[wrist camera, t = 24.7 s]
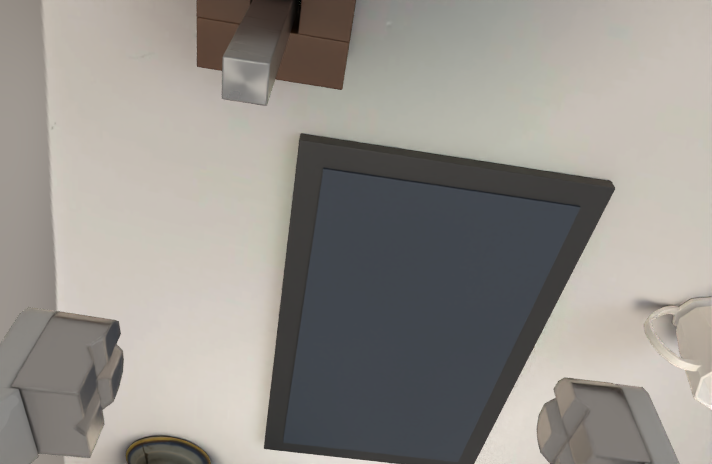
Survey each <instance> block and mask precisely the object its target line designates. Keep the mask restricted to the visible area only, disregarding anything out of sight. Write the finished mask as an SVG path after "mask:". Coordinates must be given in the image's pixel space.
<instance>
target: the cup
mask: <svg viewBox="0 0 712 464" xmlns="http://www.w3.org/2000/svg"><path fill="white" fill-rule="evenodd" d="M665 314H673V315H674V316H673V320H672V323H673V325H674V326H676V327H677V330H676V335H677V341H678V347H679V352H680V355H681V358H680V357H678V356H677V355H676V354H674V353H673V352H672V351H671V350H669V349H668V348H667V347H666V346H665V345H664V344H663V342H662V341H661V340H660V338H659V337H658V336H657V334H656V332H655V331H654V329H653V326H652V320H654V319H655V318H657V317H659V316H661V315H665ZM644 331H645V334H646V336H647V338H648V339H649V341H650V343H651V344H652V345H653V347H654V348H655V349H656V350H657V352H658V353H659V354H660V355H661V356H662V357H663V358H665V359H666V360H667V361H668V362H669V363H671V364H672V365H674V366H676V367H678V368H681V369H685V371H686V374H687V377H688V381H689V384H690V388H691V391H692V394H693V397H694V399H695V400H697V401H698V402H700V403H702V404H703V405H705V406H706V407H708V408H709V409H711V410H712V297H706V298H693V299H690V300H689V301H687V302H686V303H684V304H683V305H681V306H679V307H678V306H673V305H672V306H666V307H663V308H661V309H659V310H657V311H655V312H653V313H652V314H651V315H650V316H649V318H648V319H647V320H646V322H645V323H644Z"/></svg>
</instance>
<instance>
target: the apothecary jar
mask: <svg viewBox="0 0 712 464" xmlns="http://www.w3.org/2000/svg"><path fill="white" fill-rule="evenodd" d="M126 460H127V462H128V464H210V459H209V457H208V455H207V454H206V453H205V452H204V451H203V450H202V449H201V448H199V447H197V446H196V445H194V444H192V443H190V442H188V441H185V440H182V439H178V438H173V437H163V436H158V437H148V438H144V439H140V440H138V441H136V442H134V443H133V444H132V445H131V446H130V447H129V448H128V450H127V452H126Z"/></svg>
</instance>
